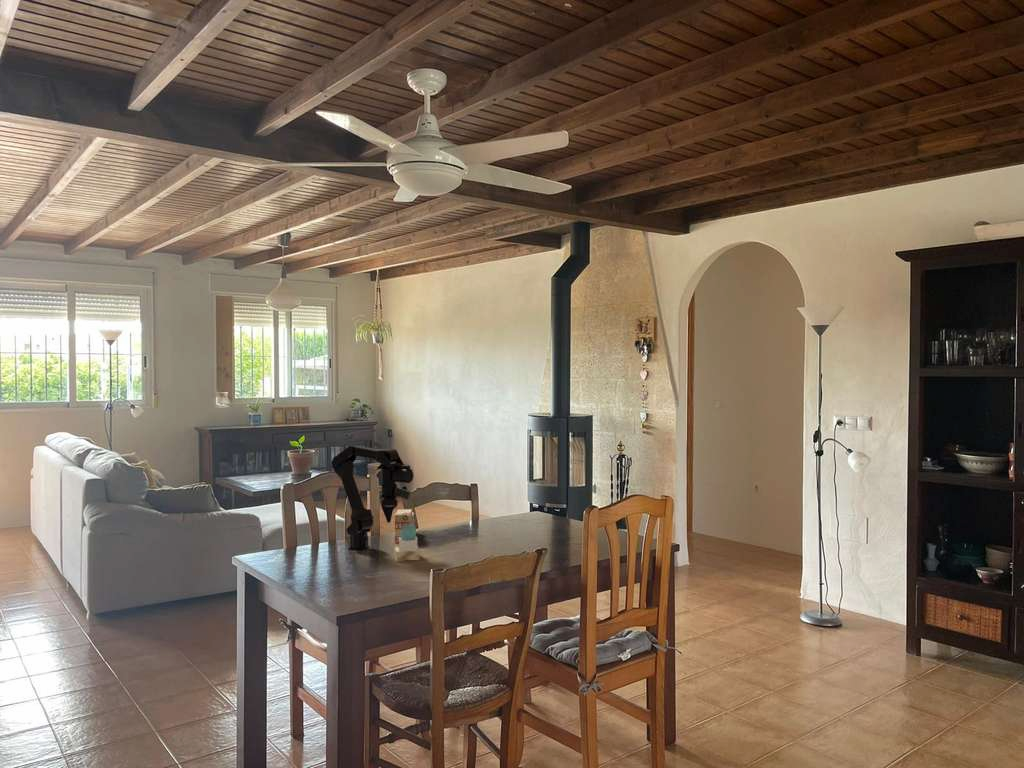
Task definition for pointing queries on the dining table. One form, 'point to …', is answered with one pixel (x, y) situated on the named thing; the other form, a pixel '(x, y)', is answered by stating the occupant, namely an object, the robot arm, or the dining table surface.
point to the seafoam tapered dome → (408, 532)
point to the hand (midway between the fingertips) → (388, 520)
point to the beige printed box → (402, 521)
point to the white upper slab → (407, 545)
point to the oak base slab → (407, 555)
